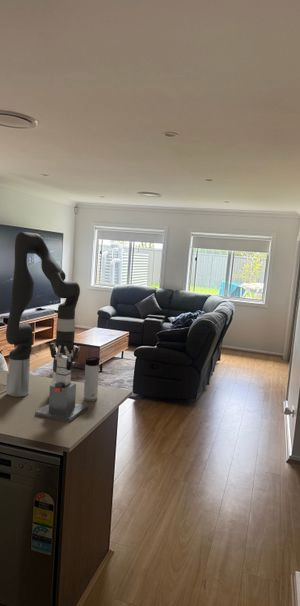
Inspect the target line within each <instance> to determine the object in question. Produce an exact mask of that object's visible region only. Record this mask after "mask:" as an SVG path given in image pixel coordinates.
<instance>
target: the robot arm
mask: <svg viewBox="0 0 300 606" xmlns="http://www.w3.org/2000/svg"><path fill="white" fill-rule="evenodd" d="M28 254H29V255H30V254H32V255H36V256H38V258H39V259H40V261H41V264H40V265H41V270H42V271H41V272H43V274H44V276H45V278H47V280H48V281H49V282H50V285H51V287H52V290H53V293H54V295H55V296H56V297H57V298H59V299H65V301H64V302H63V303H61V304H58V307H57V319H56V320H57V321H56V329H55V330H56V331H55V332H56V333H55V336H56V337H55V340H56V341H55V342H51V343H50V344H48V346H49V351H50V356H51V358H52V359H54V358H55V359H56V365H55V366H57V357H59V356H61V355H62V354H63V353H65V354H66V356H67V357H68V361H69V362H68V370H71V371H72V369H73V366H74V362H75V361H77V360H78V358H79V355H80V353H81V346H77V345H75V333H76V321H75V320H76V319H75V317H76V308H77V305H78V301H79V299H80V293H81V289H80V288H81V287H80V285H79V283H78V282H77V281H74V280H66V278H67V277H66V273H65V271H64V270H63V269H62V267H61V266H60V265H59V264H58V263H57V261H56V260H55V258H54V257H53V255H52V253H51V251H50V249H49V248H48V245H47V244H46V242H45V241H44V238H43V237H42V236H41V235H40V234H38V233H36V232H27V231H20V232H18V233H17V235H16V236H15V240H14V270H13V281H12V286H11V287H12V288H11V299H10V307H9V314H8V320H7V324H6V330H5V338H6V342H7V343H8V344H9V345H11V346H12V345H17V346H16V348H14V349H12V350H10V351H9V352H8V353H9V355H8V356H9V357H8V373H6V386H5V387H6V389H5V390H6V391H5V392H6V395H8V396H10V397H14V398H17V397H18V398H19V397H25V396H28V395H29V393H30V365H31V364H30V363H31V362H30V361H31V353H32V348H33V338H34V337H33V336H34V335H33V328H32V326H31V325H30V323H24V322H23V323H20V321H21V318H22V316H23V313H24V312H25V310H26V309H27V307H28V306H29V305H30V304H31V302H32V300H33V297H34V290H35V289H34V288H35V281H34V278H33V276H32V274H31V272H30V270H29V267H28ZM56 349H57V350H56ZM73 351H74V353H73ZM56 368H57V367H56Z"/></svg>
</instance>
